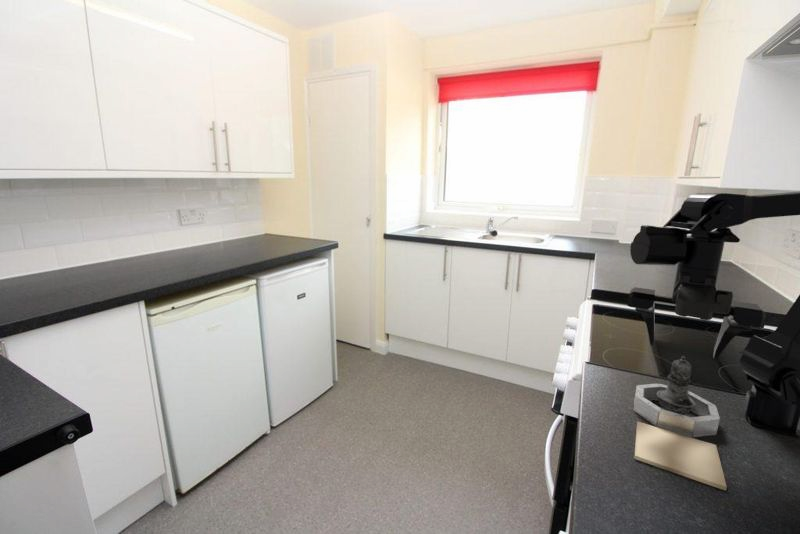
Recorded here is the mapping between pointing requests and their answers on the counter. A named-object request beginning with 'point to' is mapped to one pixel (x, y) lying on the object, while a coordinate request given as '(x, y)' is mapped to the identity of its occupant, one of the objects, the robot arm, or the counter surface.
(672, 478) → the counter surface
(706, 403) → the white octagonal ring
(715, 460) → the beige pad
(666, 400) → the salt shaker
